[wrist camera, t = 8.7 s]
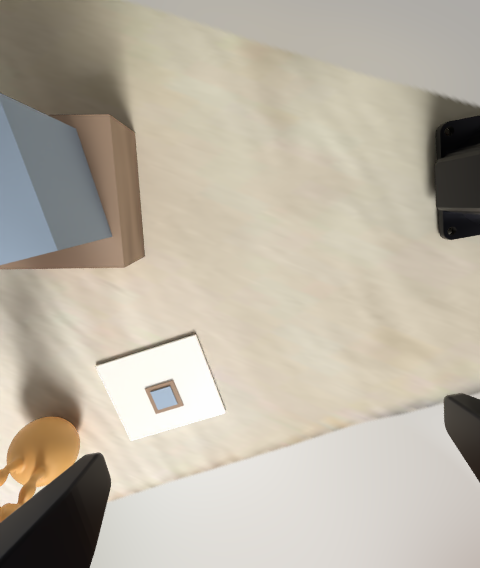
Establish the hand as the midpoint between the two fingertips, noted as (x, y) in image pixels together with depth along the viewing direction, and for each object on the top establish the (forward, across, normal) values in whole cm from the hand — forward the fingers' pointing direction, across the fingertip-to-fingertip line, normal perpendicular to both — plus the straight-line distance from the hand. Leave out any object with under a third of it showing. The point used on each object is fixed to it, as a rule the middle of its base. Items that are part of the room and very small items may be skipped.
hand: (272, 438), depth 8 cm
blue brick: (+9, +9, -8) cm, 15 cm away
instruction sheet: (+12, +7, +5) cm, 15 cm away
